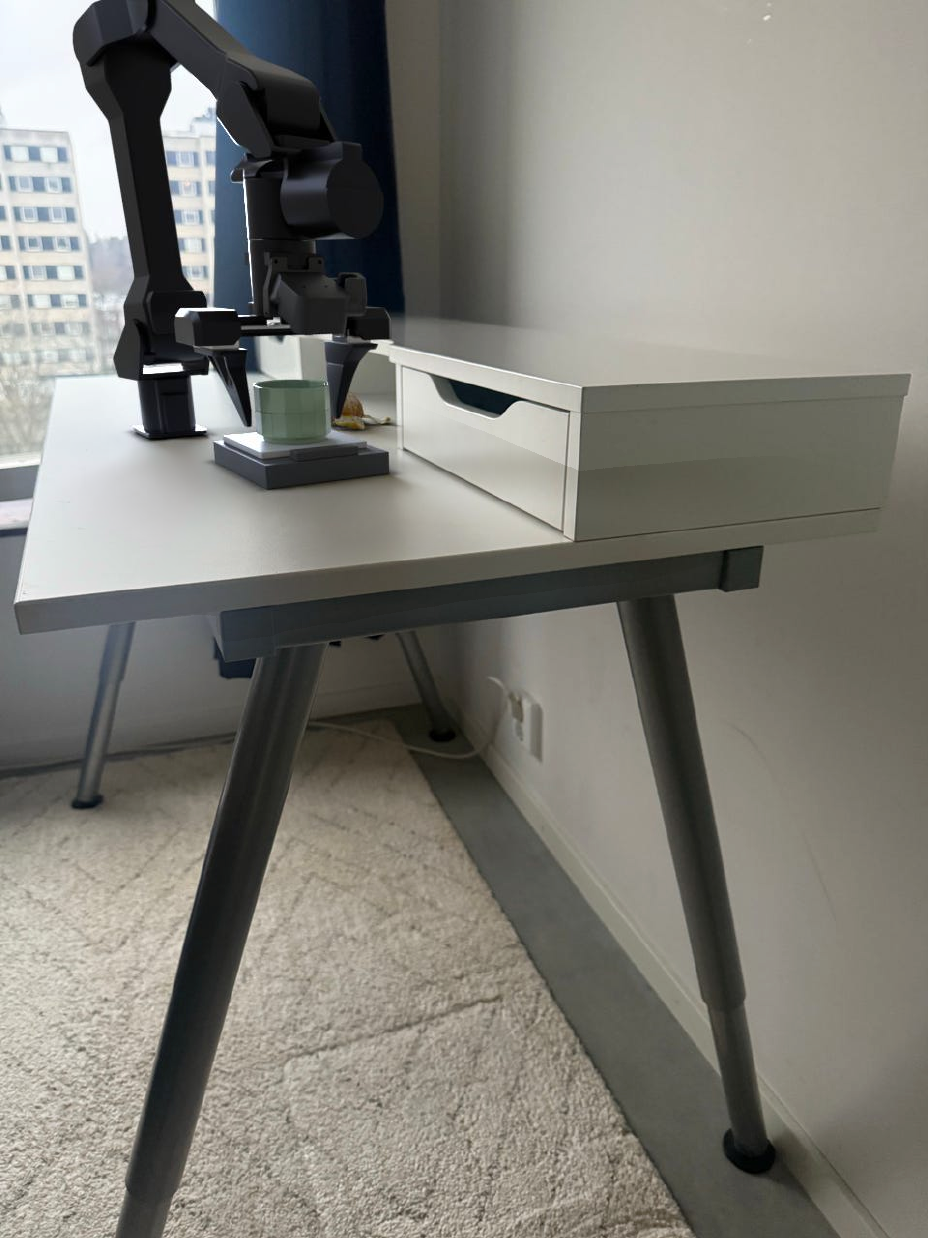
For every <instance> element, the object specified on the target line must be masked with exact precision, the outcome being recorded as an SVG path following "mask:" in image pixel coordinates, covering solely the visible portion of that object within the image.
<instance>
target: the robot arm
mask: <svg viewBox="0 0 928 1238" xmlns="http://www.w3.org/2000/svg"><path fill="white" fill-rule="evenodd" d="M72 47H73V53H74V55H75V58H76V60H77V61H78V64H79V68H80V72H81V75H82V80H83V85H84V88H85V91H86V92H87V93H88V95H89V96H90V97H91V99H92V100H93V102H94V103H95V105H96V106H97V108H98V109H99V110H100V112H101V113H102V114H103V116H104V117H105V119H106V120H107V123H108V127H109V132H110V140H111V145H112V151H113V156H114V164H115V169H116V175H117V181H118V187H119V192H120V193H119V194H120V199H121V205H122V212H123V217H124V222H125V228H126V235H127V240H128V247H129V252H130V259H131V264H132V269H133V270H132V271H133V279H132V283H131V285H130V287H129V290H128V292H127V294H126V298H125V299H124V302H123V303H122V310H123V320H124V325H123V329H122V331H121V333H120V335H119V338H118V339H119V340H118V342H117V345H116V347H115V350H114V354H113V358H112V361H113V364H114V368H115V371H116V375H117V377H118V379H123V380H124V379H125V380H129V381H133V382H136V384H137V385H136V386H137V391H138V399H139V408H140V415H141V423H142V425H133V431H134V432H136V433H138V434H140V435H142V436H143V437H145V438H147V439H151V440H153V439H161V438H164V439H165V438H171V437H184V436H196V435H205V434H208V430H207V428H205V427H203V426H200V425H199V424H197V421H196V412H195V411H196V410H195V402H194V393H193V392H194V391H193V383H192V377H193V376H202V377H203V376H209V373H210V364H211V365H212V367H213V369H214V370H215V372H216V373H217V375H218V376H219V378H220V380H221V381H222V383H223V385H224V388H225V389H226V392H227V393H228V396H229V397H230V400H231V402H232V404H233V406H234V408H235V410H236V412H237V414H238V416H239V418H240V421H241V422H242V425H243V426H244V427H245V428H252V426H253V409H252V403H251V396H250V395H251V394H250V389H249V382H248V375H247V368H246V367H247V360H248V356H249V355H248V354H249V350H248V349H247V348H241V347H240V338H251V337H252V338H253V337H279V336H280V337H283V336H284V337H285V336H314V335H315V336H316V335H331V340H330V339H329V340H323V345H324V346H323V347H324V358H325V370H326V371H325V372H326V382H327V383H328V384H329V395H330V410H331V415H332V418H334V419H340V417H341V414H342V411H343V408H344V404H345V401H346V398H347V394H348V391H350V388H351V385H352V381H353V378H354V376H355V373H356V371H357V368H358V366H359V364H360V362H361V361H362V359H364V357H365V356H366V355H367V354H368V353H369V352H370V351H375V350H377V348H378V347H379V343H375V342H372V341H385V340H386V341H387V340H392V339H393V331H392V319H391V317H390V315H389V313H388V311H387V310H386V309H385V307H378V306H369V305H368V293H367V280H366V277H365V276H363V275H362V274H361V273H360V272H340V273H338V276H337V277H327V274H326V271H325V260H324V259H323V253H318V252H317V251H316V249H317V248H316V241H315V240H354V239H356V240H357V239H358V240H359V239H363V238H367V237H368V236H370V235H372V234H373V233H374V232H375V230H376V229H377V228H378V226H379V224H380V222H381V220H382V216H383V213H384V193H383V192H382V190H381V186H380V183H379V181H378V179H377V176H376V174H375V173H374V171H373V170H372V169H371V167H370V166H369V165H368V164H367V163H366V162H364V161H363V147H362V145H361V144H360V143H355V142H348V141H342V140H341V141H340V140H339V138H338V136H337V134H336V132H335V130H334V128H333V126H332V124H331V122H330V120H329V117H328V115H327V113H326V112H325V110H324V107H323V105H322V103H321V102H320V101H321V96H320V93H319V91H318V89H317V87H316V86H315V84H314V83H313V82H312V81H311V80H310V79H308V78H306V77H304V76H302V75H300V74H298V73H296V72H295V71H292V70H290V69H288V68H286V67H283V66H280V65H277V64H275V63H272V62H269V61H266V60H264V59H261V58H260V57H258V56H256V55H255V54H253V53H252V52H251V51H250V50H249V49H248V48H246V46H245V45H243V44H242V43H241V42H240V41H238V39H237V38H236V37H234V36H233V35H232V34H231V33H230V32H229V31H227V29H225V27H223V26H222V25H221V24H220V23H219V22H218V21H217V20H216V19H214V18H213V17H212V16H211V15H210V14H209V13H208V12H207V11H206V10H204V9H203V7H201V6H200V5H199V4H198V3H197V2H196V0H96V1H94V2H92V3H90V5H89V6H88V7H87V8H86V10H85V11H84V12H83V13H82V14H81V15H80V17H79V18H78V19H77V20H76V22H75V23H74V25H73V31H72ZM180 66H182V67H183V68H184V69H185V70H186V72H188V73H189V74H190V75H191V76H192V77H193V78H194V79H195V80H196V81H197V82H198V83H199V84H201V86H203V88H204V89H206V91H208V92H209V93H210V94H211V96H212V97H213V99H214V101H215V114H214V115H215V116H216V118H217V120H218V121H219V122H220V124H221V125H222V127H223V128H224V129H225V131H226V133H227V134H228V135H229V136H230V138H231V140H232V141H233V142H234V143H235V145H236V146H238V147H240V148H241V149H247V150H248V151H247V152H244V153H243V155H242V159H241V161H240V162H239V163H238V164H237V165H236V166H234V168H233V169H232V171H231V173H230V176H229V180H230V181H231V183H233V184H242V185H243V189H244V190H243V191H244V204H245V205H244V206H245V217H246V228H247V229H246V231H247V239H248V240H247V242H248V252H244V253H243V254H244V266H249V270H250V281H251V283H250V284H251V295H252V301H249V302H247V306H248V315H239V314H238V311H237V310H236V309H229V308H222V307H208V300H207V299H208V298H207V297H206V294H205V292H204V291H203V290H200V289H197V290H196V289H194V287H193V286H192V284H191V283H190V282H189V281H188V279H187V278H186V276H185V275H184V271H183V270H184V269H183V265H182V258H181V250H180V246H179V245H180V244H179V237H178V230H177V224H176V218H175V211H174V210H175V209H174V205H173V198H172V191H171V184H170V177H169V171H168V163H167V158H166V151H165V144H164V137H163V131H162V122H161V118H162V115H163V113H164V111H165V108H166V105H167V103H168V100H169V99H170V96H171V93H172V91H173V86H172V84H173V83H172V73H173V72H174V71H176V70H177V69H178V68H179V67H180ZM367 305H368V306H367ZM274 318H279V321H278V322H276V321H274ZM268 321H271V322H268ZM272 321H273V322H272ZM165 365H167V366H165ZM168 365H177V366H168ZM145 366H146V367H151V368H144V367H145ZM152 366H165V367H152Z"/></svg>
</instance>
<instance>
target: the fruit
mask: <svg viewBox="0 0 928 1238" xmlns="http://www.w3.org/2000/svg"><path fill="white" fill-rule="evenodd" d="M330 417H331V426H333V423H334V422H335V425H337V426H338V427H347V428H349V429H352V430H356V429H357V430H365V428H366V426H365V419H369V420H372V421H374V422H375V423H377V424H380V425H383V424H385V423H387V422H388V423H389V422H390V421H391V420H392V418H390V417H389V416H387V417H386V418H378V417H374V416H371V415H370V414H365V411H364V408H363V404H362V403H361V401H360V400H359V399H358V398H357V397H356V395H355V394H354V393H353V392H352V391H350V390H349V391H348V394H347V398H346V401H345V404H344V408H343V411H342V414H341V417H340V419H334V418H332V415H331V410H330Z"/></svg>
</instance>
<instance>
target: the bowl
mask: <svg viewBox="0 0 928 1238" xmlns="http://www.w3.org/2000/svg"><path fill="white" fill-rule="evenodd" d="M252 387H253V399H254V400H253V401H254V409H255V410H254V411H255V413H254V414H255V425H256V432H257V434H259V435H261V436H262V437H263V440H264V441H266V442H269V443H275V444H308V443H315V442H320V441H323V440H325V439H326V435H327V434H329V433H331V430H332V425H331V417H330V395H329V384H328V383H327V381H323V380H314V379H272V380H264V381H258V382H255V383H253V385H252Z"/></svg>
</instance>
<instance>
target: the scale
mask: <svg viewBox="0 0 928 1238" xmlns="http://www.w3.org/2000/svg"><path fill="white" fill-rule="evenodd" d="M212 444H213V445H212V446H213V455H214V462H215V463H216V464H218V465H220V466H221V467H223V468H225V469H227V470H230V471H232V472H233V473H235V474H237V475H240V476H241V477H243V478H245V479H247V480H249V481H250V482H253V483H255V484H256V485H258V486H260V487H262V488H263V489H266V490H273V489H280V488H288V487H295V486H296V487H297V486H302V485H303V486H304V485H310V484H311V485H312V484H319V483H324V482H333V481H334V482H335V481H341V480H348V479H355V478H363V477H371V476H379V475H386V474H390V451H387V450H384V449H381V448H379V447H376V446H373V445H370V444H368V441H367V440H364V439H361V438H358V437H355V436H353V435H349V434H346V433H343V432H340V431H337V430H333V429H331V433H329V434H327V435H326V439H325V440H323V441H320V442H315V443H308V444H275V443H269V442H266V441H264V440H263V437H262V436H261V435H259V434H257V431H256V432H245V433H236V434H227V435H226V434H225V435H223V436H222V440H214V441H212Z"/></svg>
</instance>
